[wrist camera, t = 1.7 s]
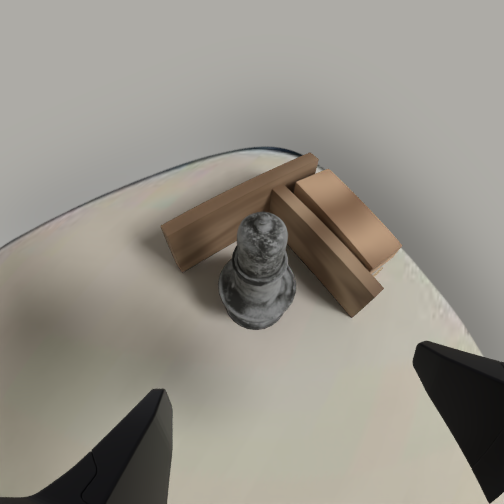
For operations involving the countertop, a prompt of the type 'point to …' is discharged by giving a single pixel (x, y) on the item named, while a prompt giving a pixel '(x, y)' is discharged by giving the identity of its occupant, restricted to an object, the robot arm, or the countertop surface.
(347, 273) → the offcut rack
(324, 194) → the teak offcut
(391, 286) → the countertop surface
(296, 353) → the countertop surface
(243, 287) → the grey rounded upright piece
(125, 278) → the countertop surface
